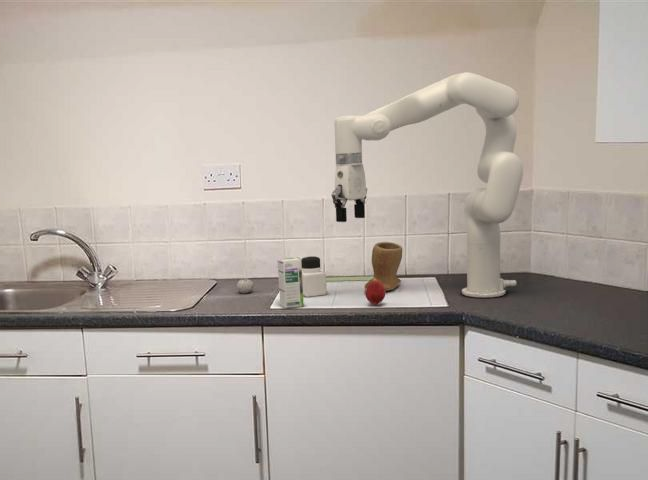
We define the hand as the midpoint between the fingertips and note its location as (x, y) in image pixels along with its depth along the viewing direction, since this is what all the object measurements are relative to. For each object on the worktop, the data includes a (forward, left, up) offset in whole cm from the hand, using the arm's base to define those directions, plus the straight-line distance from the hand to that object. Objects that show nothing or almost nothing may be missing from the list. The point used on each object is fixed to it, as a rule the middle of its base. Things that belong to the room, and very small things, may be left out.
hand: (350, 219), depth 220 cm
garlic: (+31, -28, -25) cm, 49 cm away
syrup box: (+18, -4, -25) cm, 31 cm away
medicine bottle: (+10, -19, -25) cm, 33 cm away
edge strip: (-4, -40, -25) cm, 48 cm away
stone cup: (-14, -20, -25) cm, 35 cm away
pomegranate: (-6, +3, -25) cm, 26 cm away
